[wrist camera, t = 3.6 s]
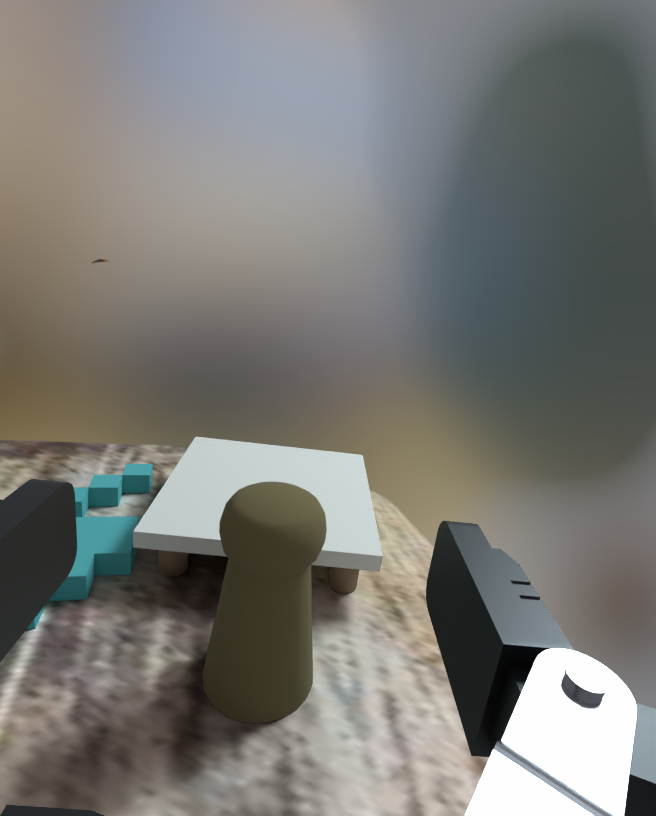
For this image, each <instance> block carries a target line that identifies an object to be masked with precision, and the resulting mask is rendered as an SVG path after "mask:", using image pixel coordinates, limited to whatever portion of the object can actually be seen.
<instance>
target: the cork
mask: <svg viewBox="0 0 656 816" xmlns="http://www.w3.org/2000/svg"><path fill="white" fill-rule="evenodd" d="M326 533H327V528H326V517H325V512H324V510H323V508H322V506H321V504H320V503H319V501H318V499H317V498H316V497H315V496H314V495H312V494H311V493H310V492H309V491H307V490H305V489H302V488H300V487H298V486H296V485H292V484H288V483H284V482H274V481H272V482H260V483H256V484H251V485H248V486H246V487H243V488H241V489H239V490H238V491H237V492H236V493H235V494H234V495H232V497H231V498H230V499H229V500H228V501H227V503H226V505H225V508H224V510H223V513H222V516H221V519H220V524H219V534H220V538H221V542H222V547H223V551H224V553H225V554H226V556H227V557H228V563H227V567H226V572H225V576H224V580H223V585H222V589H221V594H220V598H219V602H218V607H217V611H216V616H215V620H214V625H213V629H212V633H211V638H210V642H209V647H208V651H207V655H206V660H205V664H204V669H203V673H202V679H203V688H204V692H205V693H206V695H207V697H208V699H209V701H210V702H211V704H212V705H213V706H214V707H215V708H216V709H218V710H219V711H220V712H221V713H222V714H224V715H225V716H227V717H230V718H232V719H235V720H237V721H240V722H243V723H258V724H263V723H267V722H271V721H276V720H280V719H282V718H284V717H285V716H287V715H289V714H290V713H292V712H294V711H296V710H297V708H298V707H299V706H300V705H301V704H302V703H303V702H304V701H305V699H306V698H307V696H308V694H309V691H310V689H311V686H312V684H313V660H312V595H311V564H312V563H314V562H315V561H316V559H317V557H318V556H319V554H320V552H321V550H322V548H323V545H324V543H325V539H326Z"/></svg>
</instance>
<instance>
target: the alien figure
mask: <svg viewBox="0 0 656 816" xmlns="http://www.w3.org/2000/svg"><path fill="white" fill-rule="evenodd" d="M151 484H152V464H126V467H125V469H124V472H123V475H94V477H93V479H92V481H91V483H90V485H89V487H88V488H74V491H75V506H76V528H77V554H76V559H75V562H74V565H73V568H72V570H71V572H70V574H69V575H68V577H67V578H66V579H65V581H64V582H63V583H62V584H61V586H60V587H59V588H58V589H57V591H56V592H55V593H54V595H53V596H52V597H51V598H50V600H49V601H62V600H81V599H87V598H88V595H89V592H90V589H91V586H92V583H93V580H94V577H95V576H103V575H127V574H131V571H132V566H133V562H134V558H135V553H136V549H137V548H134V547H133V531H134V529H135V528H136V526H137V525H138V523H139V516H131V517H85V514H86V512H87V510H88V508H89V506H118V505H119V502H120V499H121V496H122V493H150V488H151ZM44 608H45V606H44V607H43V609H42V610H41V611H40V612H39V614H38V615H37V616H36V617H35V619H34V620H33V621H32V622H31V624H30V625H29V626H28V628H27V629H35V628H36V626H37V623H38V621H39V619H40V617H41V614H42V612H43V610H44Z"/></svg>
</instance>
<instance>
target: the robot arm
mask: <svg viewBox="0 0 656 816" xmlns="http://www.w3.org/2000/svg"><path fill="white" fill-rule="evenodd" d="M76 554H77V528H76V506H75V491H74V488H73V486H72V484H70V483H68V482H58V481H48V480H38V479H31V480H29V481H27V482H26V483H25V484H23V485H22V486H21V487H19V488H18V489H17V490H16V491H14V492H13V493H12V494H10V495H9V496H8V497H6V498H5V499H4V500H0V662H1V661H2V659H3V658H4V657H5V655H6V654H7V653H8V652H9V650H10V649H11V648H12V647H13V645H14V644H15V643H16V642H17V640H18V639H19V638H20V636H21V635H22V634H23V633H24V631H25V630H26V629H27V628H28V626H29V625H30V624H31V622H32V621H33V620H34V619H35V617H36V616H37V615H38V614H39V612H40V611H41V610H42V609H43V607H44V606H45V605H46V603H47V602H48V601H49V600H50V598H51V597H52V596H53V595H54V593H55V592H56V591H57V589H58V588H59V587H60V586H61V584H62V583H63V582H64V581H65V579H66V578H67V577H68V575H69V574H70V572H71V570H72V568H73V565H74V562H75V559H76ZM426 600H427V608H428V612H429V615H430V618H431V622H432V625H433V628H434V632H435V635H436V638H437V642H438V645H439V649H440V652H441V655H442V659H443V662H444V665H445V669H446V672H447V675H448V679H449V682H450V685H451V689H452V692H453V695H454V699H455V702H456V705H457V709H458V712H459V715H460V719H461V722H462V725H463V729H464V732H465V735H466V739H467V742H468V746H469V749H470V752H471V756H482V757H490V758H489V761H488V763H487V765H486V767H485V770H484V772H483V774H482V777H481V779H480V781H479V784H478V786H477V788H476V791H475V793H474V795H473V797H472V800H471V802H470V804H469V807H468V809H467V811H466V814H465V816H656V709H653V708H650V707H647V706H644V705H642V704H639V703H637V702H635V700H634V698H633V696H632V694H631V692H630V691H629V689H628V688H627V686H626V685H625V684H624V683H623V682H622V681H621V680H620V679H619V678H618V677H617V676H616V675H615V674H614V673H613V672H612V671H610V670H609V669H608V668H607V667H605V666H603V665H602V664H601V663H599V662H598V661H596V660H594V659H592V658H590V657H588V656H586V655H584V654H581V653H578V652H576V651H574V650H573V648H572V647H571V645H570V643H569V642H568V640H567V639H566V637H565V636H564V634H563V632H562V631H561V629H560V628H559V626H558V625H557V623H556V622H555V620H554V618H553V617H552V615H551V614H550V612H549V611H548V609H547V607H546V606H545V604H544V603H543V601H540V596H539V595H538V593H537V592H536V590H535V589H534V587H533V586H531V585H530V581H529V579H528V578H527V576H526V574H525V573H524V571H523V570H522V568H521V567H520V565H519V564H518V563H516V562H515V561H514V560H513V559H512V558H511V557H509V556H508V555H507V554H506V553H505V552H503V551H502V550H501V549H493V548H491V546H490V545H489V543H488V541H487V539H486V537H485V536H484V534H483V532H482V530H481V529H480V527H479V526H478V525H477V524H472V523H460V522H451V521H442V523H441V524H440V526H439V529H438V533H437V538H436V542H435V546H434V551H433V556H432V560H431V565H430V570H429V574H428V579H427V587H426ZM1 816H104V815H101V814H99V813H96V812H94V811H89V810H74V809H59V808H45V807H30V806H15V805H6V807H5V809H4V810H3V812H2V814H1Z"/></svg>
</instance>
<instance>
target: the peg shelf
mask: <svg viewBox="0 0 656 816" xmlns="http://www.w3.org/2000/svg"><path fill="white" fill-rule="evenodd" d="M272 481H274V482H284V483H288V484H292V485H296V486H298V487H300V488H302V489H305V490H307V491H309V492H310V493H311V494H312V495H314V496H315V497H316V498H317V499H318V501H319V503H320V504H321V506H322V508H323V510H324V512H325V517H326V528H327V533H326V539H325V543H324V545H323V548H322V550H321V552H320V554H319V556H318V557H317V559H316V561H315V562H314V563H312V564H311V565H318V566H328V567H331V570H330V576H329V585H330V587H331V588H332V589H333V590H335V591H337V592H339V593H350V592H353V591H354V590H355V589H356V586H357V580H358V574H359V570H369V571H379V572H380V567H381V562H382V557H383V555H382V550H381V545H380V540H379V535H378V530H377V525H376V520H375V515H374V510H373V505H372V500H371V495H370V490H369V486H368V480H367V475H366V470H365V465H364V460H363V455H356V454H348V453H339V452H330V451H321V450H311V449H302V448H293V447H284V446H275V445H266V444H257V443H248V442H239V441H229V440H221V439H212V438H203V437H195V439H194V440H193V442H192V443H191V445H190V446H189V448H188V449H187V451H186V452H185V454H184V455H183V457H182V458H181V460H180V461H179V463H178V464H177V466H176V467H175V469H174V470H173V472H172V474H171V475H170V477H169V478H168V480H167V481H166V483H165V484H164V486H163V487H162V489H161V490H160V492H159V493H158V495H157V496H156V498H155V499H154V501H153V502H152V504H151V505H150V507H149V508H148V510H147V511H146V513H145V514H144V516H143V517H142V519H141V520H140V522H139V523H138V525H137V526H136V528H135V529H134V531H133V547H134V548H144V549H154V550H158V572H159V573H160V574H162V575H164V576H168V577H174V576H179V575H181V574H183V573H184V572H185V571H186V570H187V568H188V553H195V554H205V555H216V556H226V554H225V553H224V551H223V547H222V542H221V538H220V534H219V524H220V519H221V516H222V513H223V510H224V508H225V505H226V503H227V501H228V500H229V499H230V498H231V497H232V495H234V494H235V493H236V492H237V491H238V490H239V489H241V488H243V487H246V486H248V485H251V484H256V483H260V482H272ZM226 557H227V556H226Z"/></svg>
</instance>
